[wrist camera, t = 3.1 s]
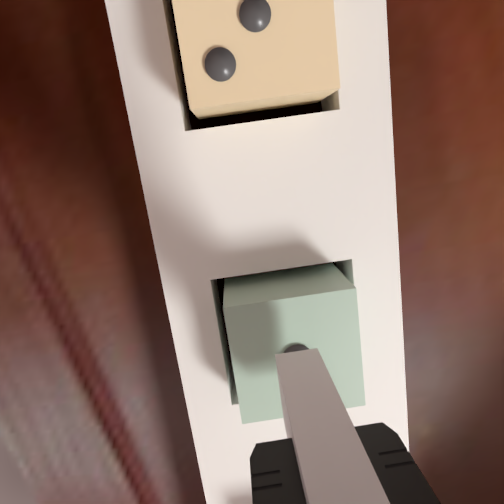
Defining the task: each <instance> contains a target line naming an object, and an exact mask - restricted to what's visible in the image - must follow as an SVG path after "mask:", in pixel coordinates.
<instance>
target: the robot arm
mask: <svg viewBox="0 0 504 504" xmlns="http://www.w3.org/2000/svg"><path fill="white" fill-rule="evenodd" d="M275 359H276V367H277V374H278V381H279V389H280V396H281V403H282V410H283V418H284V424H285V429H286V434H287V439H281V440H275V441H268V442H262V443H256V445H255V447H254V449H253V452H252V454H251V456H250V473H251V488H252V503H253V504H441V503H440V502H439V500H438V499H437V497H436V495H435V494H434V492H433V490H432V489H431V487H430V486H429V484H428V482H427V481H426V479H425V477H424V476H423V474H422V473H421V471H420V469H419V468H418V466H417V464H415V462H414V460H413V458H412V456H411V455H410V453H409V451H407V448H406V447H405V445H404V443H403V442H402V440H401V438H400V437H399V435H398V434H397V433H396V432H395V431H393V430H392V429H391V428H390V427H388V426H387V425H386V424H384V423H383V422H380V423H374V424H368V425H361V426H355V427H354V425H353V423H352V421H351V419H350V417H349V415H348V412H347V410H346V408H345V406H344V404H343V402H342V400H341V397H340V395H339V393H338V391H337V389H336V387H335V385H334V383H333V380H332V378H331V376H330V374H329V372H328V370H327V368H326V365H325V363H324V361H323V359H322V357H321V355H320V353H319V350H318V348H315V349H308V350H302V351H295V352H289V353H282V354H275Z"/></svg>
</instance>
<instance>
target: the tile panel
mask: <svg viewBox="0 0 504 504" xmlns="http://www.w3.org/2000/svg"><path fill="white" fill-rule="evenodd" d="M333 1H334V14H335V27H336V39H337V52H338V64H339V77H340V89H338V90H337V91H335V92H334V93H332V94H330V95H329V96H327V97H326V98H324V99H323V100H321V105H322V112H318V113H311V114H304V115H297V116H289V117H282V118H275V119H268V120H261V121H254V122H247V123H240V124H233V125H226V126H219V127H212V128H204V129H197V130H191V124H190V118H189V112H188V106H187V100H186V94H185V88H184V82H183V76H182V70H181V64H180V58H179V52H178V46H177V40H176V34H175V28H174V22H173V16H172V11H171V5H170V0H105V4H106V9H107V14H108V19H109V24H110V29H111V34H112V39H113V44H114V49H115V54H116V59H117V63H118V68H119V73H120V78H121V83H122V88H123V93H124V98H125V103H126V108H127V113H128V118H129V123H130V128H131V133H132V138H133V143H134V148H135V153H136V157H137V162H138V167H139V172H140V177H141V182H142V187H143V192H144V197H145V202H146V207H147V212H148V217H149V222H150V227H151V232H152V237H153V242H154V246H155V251H156V256H157V261H158V266H159V271H160V276H161V281H162V286H163V291H164V296H165V301H166V306H167V311H168V316H169V321H170V326H171V331H172V335H173V340H174V345H175V350H176V355H177V360H178V365H179V370H180V375H181V380H182V385H183V390H184V395H185V400H186V405H187V410H188V415H189V420H190V425H191V429H192V434H193V439H194V444H195V449H196V454H197V459H198V464H199V469H200V474H201V479H202V484H203V489H204V494H205V499H206V504H253V503H252V488H251V473H250V456H251V454H252V452H253V449H254V447H255V445H256V443H262V442H268V441H275V440H281V439H287V434H286V429H285V424H284V418H279V419H273V420H266V421H260V422H253V423H247V424H242V420H241V414H240V408H239V402H238V396H237V390H236V384H235V378H234V372H233V370H232V369H231V363H230V357H229V351H228V345H227V339H226V333H225V327H224V321H223V315H222V309H221V303H220V297H219V291H218V285H217V279H220V278H227V277H233V276H240V275H247V274H254V273H261V272H267V271H274V270H281V269H288V268H295V267H301V266H308V265H315V264H322V263H329V262H335V261H336V267H337V268H338V269H339V270H340V271H341V272H342V273H343V275H344V276H345V277H346V278H347V279H348V280H349V281H350V282H351V283H352V284H353V285H354V286H355V287H356V290H357V303H358V316H359V328H360V341H361V353H362V366H363V378H364V391H365V404H366V405H365V406H358V407H351V408H346V410H347V412H348V415H349V417H350V419H351V421H352V423H353V425H354V427H355V426H361V425H368V424H374V423H380V422H383V423H384V424H386V425H387V426H388V427H390V428H391V429H392V430H393V431H395V432H396V433H397V434H398V435H399V437H400V438H401V440H402V442H403V443H404V445H405V447H406V448H407V451H409V439H408V420H407V400H406V381H405V362H404V342H403V323H402V303H401V284H400V264H399V245H398V226H397V206H396V187H395V167H394V148H393V128H392V109H391V89H390V70H389V51H388V31H387V12H386V0H333Z"/></svg>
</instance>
